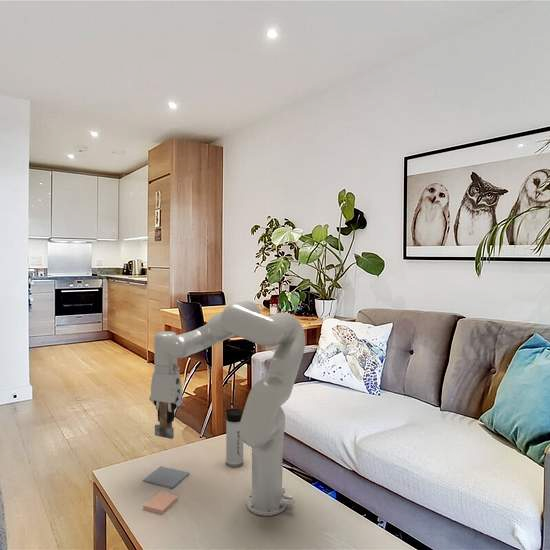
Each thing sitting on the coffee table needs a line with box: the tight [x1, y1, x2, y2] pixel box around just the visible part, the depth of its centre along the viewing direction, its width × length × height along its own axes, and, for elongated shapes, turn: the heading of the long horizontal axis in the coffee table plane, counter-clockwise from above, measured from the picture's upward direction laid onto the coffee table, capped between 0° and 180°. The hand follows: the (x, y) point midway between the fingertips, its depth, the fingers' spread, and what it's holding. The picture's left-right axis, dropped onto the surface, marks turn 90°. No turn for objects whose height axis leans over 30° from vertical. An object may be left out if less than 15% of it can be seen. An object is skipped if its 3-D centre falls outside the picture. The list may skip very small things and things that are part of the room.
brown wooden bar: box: [154, 402, 175, 440], centre depth 146 cm, size 7×3×14 cm, turn 68°
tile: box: [142, 491, 179, 516], centre depth 131 cm, size 7×2×8 cm
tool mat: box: [142, 465, 190, 490], centre depth 147 cm, size 12×10×1 cm
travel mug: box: [225, 408, 244, 468], centre depth 157 cm, size 6×7×20 cm
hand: (165, 420), depth 146 cm, fingers closed on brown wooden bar, 3 cm apart
